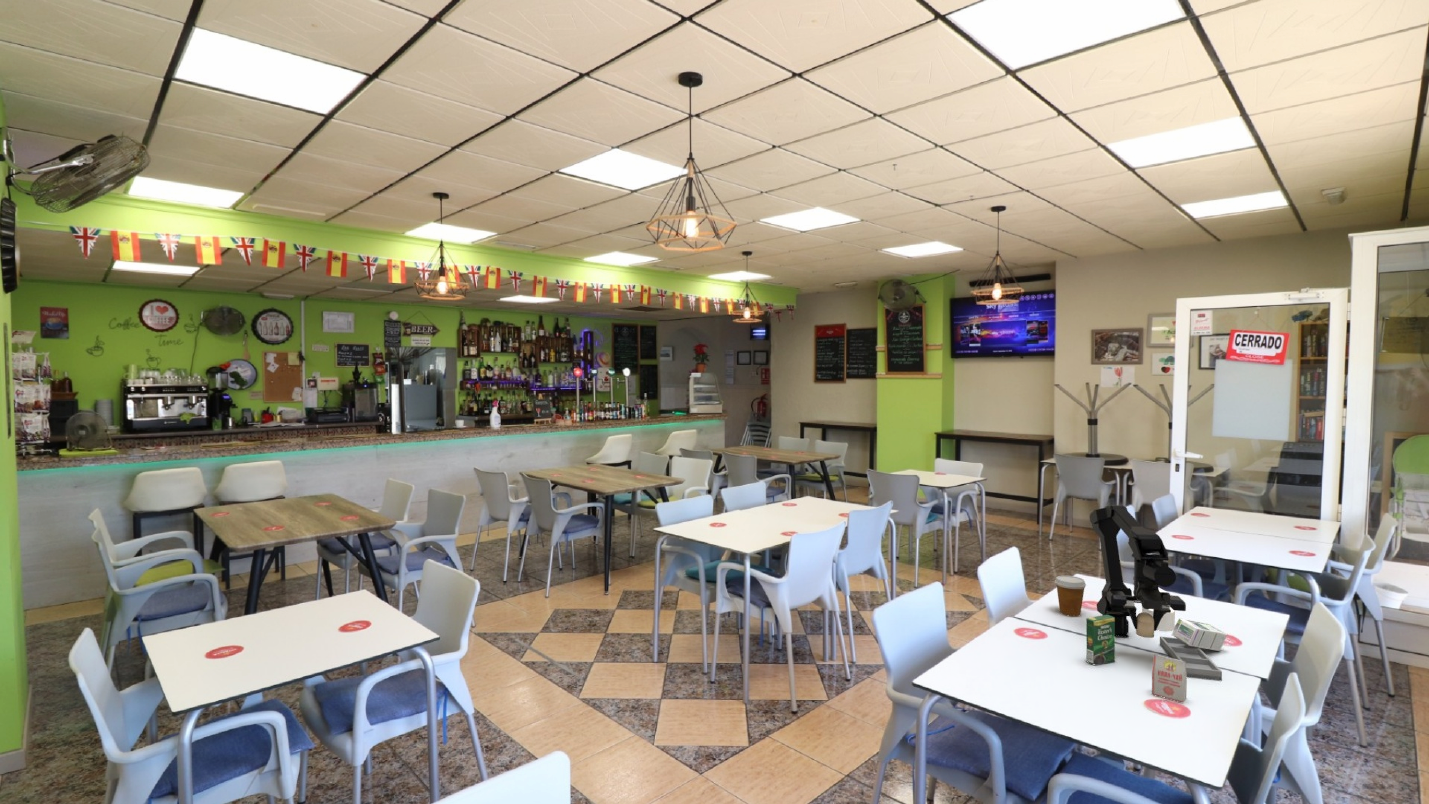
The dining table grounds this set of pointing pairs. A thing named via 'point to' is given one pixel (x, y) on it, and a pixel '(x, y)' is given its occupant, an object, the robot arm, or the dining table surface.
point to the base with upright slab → (1164, 618)
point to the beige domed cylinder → (1145, 625)
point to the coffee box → (1100, 639)
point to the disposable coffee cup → (1070, 594)
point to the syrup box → (1199, 634)
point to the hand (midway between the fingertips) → (1145, 629)
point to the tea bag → (1169, 678)
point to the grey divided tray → (1191, 659)
